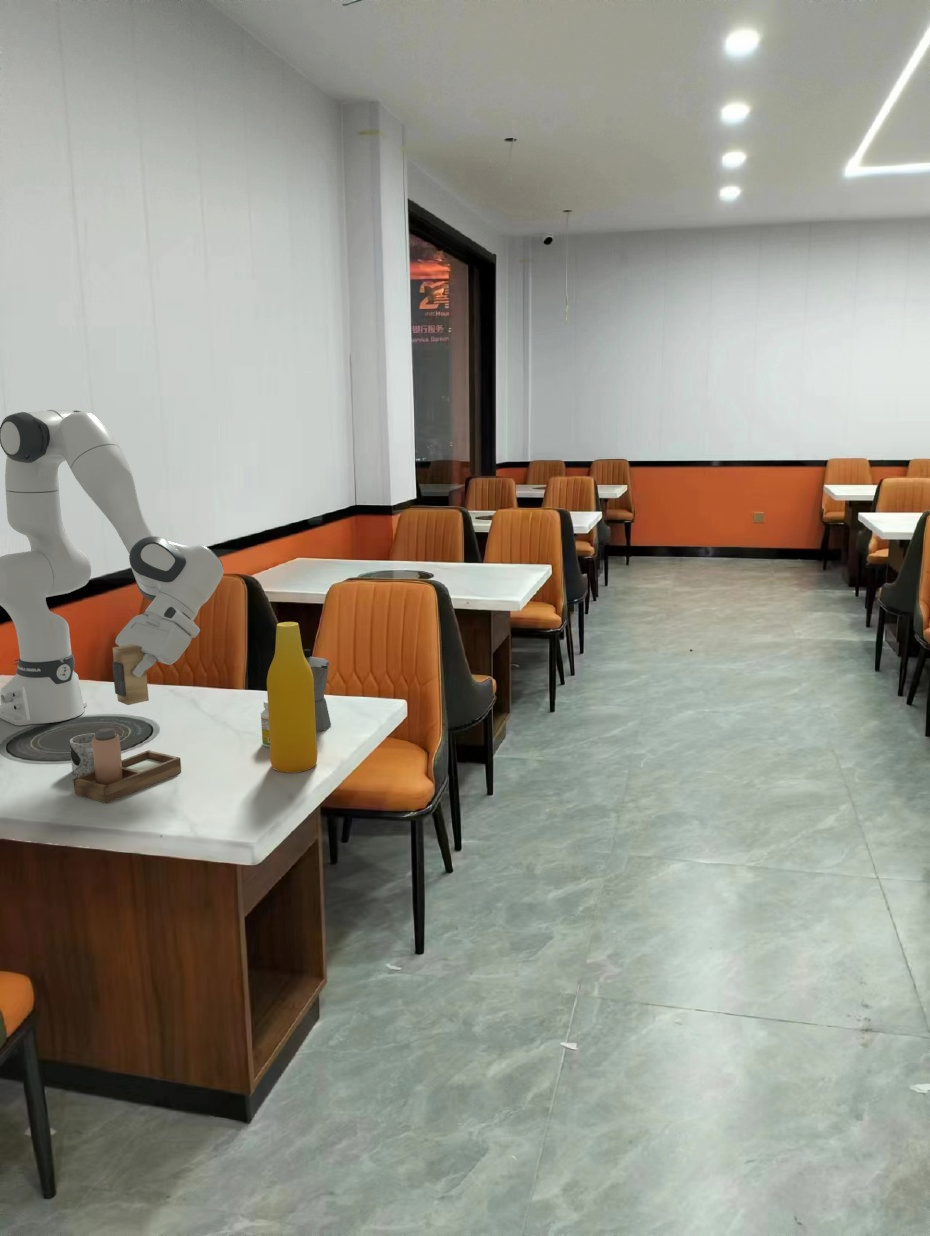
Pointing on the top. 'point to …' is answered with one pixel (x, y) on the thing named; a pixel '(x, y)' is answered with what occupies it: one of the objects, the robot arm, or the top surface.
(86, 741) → the mug
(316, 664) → the coffeepot
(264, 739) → the supplement bottle
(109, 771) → the terracotta shaker
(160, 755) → the wooden tray
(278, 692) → the beer bottle
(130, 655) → the oak block
